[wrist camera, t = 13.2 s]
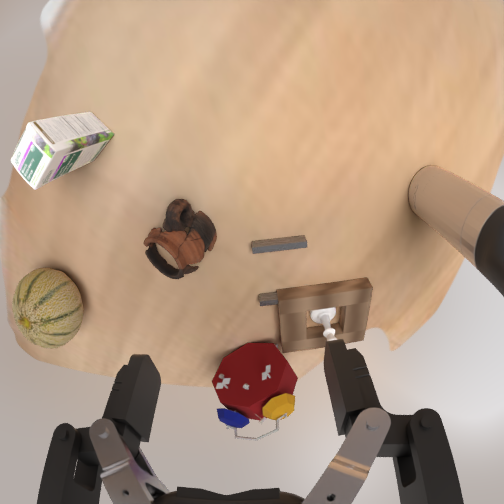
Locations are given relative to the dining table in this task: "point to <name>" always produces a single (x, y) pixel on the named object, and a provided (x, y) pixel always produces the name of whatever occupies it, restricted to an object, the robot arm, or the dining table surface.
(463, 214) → the robot arm
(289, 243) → the stand rails
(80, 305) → the cantaloupe
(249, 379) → the alarm clock
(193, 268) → the pottery mug
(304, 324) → the block
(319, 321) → the chess piece
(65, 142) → the syrup box
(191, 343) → the dining table surface
